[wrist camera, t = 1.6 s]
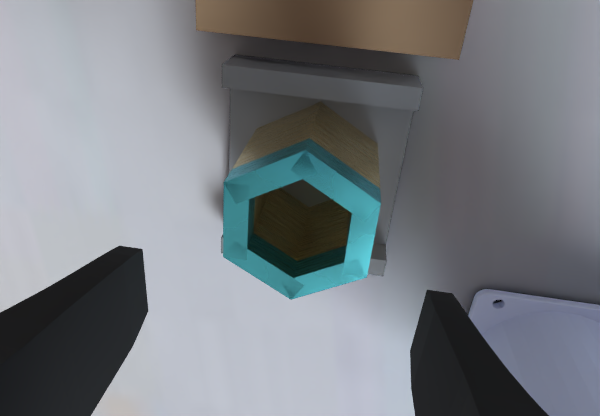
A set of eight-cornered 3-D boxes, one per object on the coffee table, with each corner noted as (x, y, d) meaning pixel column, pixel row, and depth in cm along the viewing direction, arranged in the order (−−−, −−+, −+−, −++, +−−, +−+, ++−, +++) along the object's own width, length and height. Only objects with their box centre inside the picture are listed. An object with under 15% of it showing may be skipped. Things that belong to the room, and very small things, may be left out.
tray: (418, 75, 18) (423, 88, 16) (382, 252, 22) (383, 276, 20) (234, 54, 18) (222, 64, 17) (231, 231, 22) (221, 252, 20)
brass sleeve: (383, 108, 18) (389, 160, 13) (361, 233, 21) (360, 309, 16) (258, 93, 18) (223, 139, 14) (252, 218, 21) (222, 289, 16)
